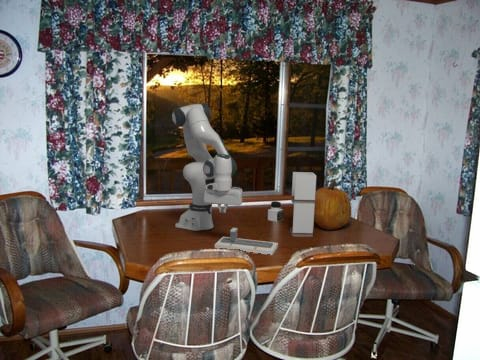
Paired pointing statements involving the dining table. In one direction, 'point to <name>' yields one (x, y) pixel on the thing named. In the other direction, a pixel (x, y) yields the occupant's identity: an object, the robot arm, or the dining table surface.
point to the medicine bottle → (275, 212)
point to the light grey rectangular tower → (303, 203)
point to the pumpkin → (331, 207)
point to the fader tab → (233, 234)
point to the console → (248, 245)
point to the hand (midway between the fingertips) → (222, 212)
